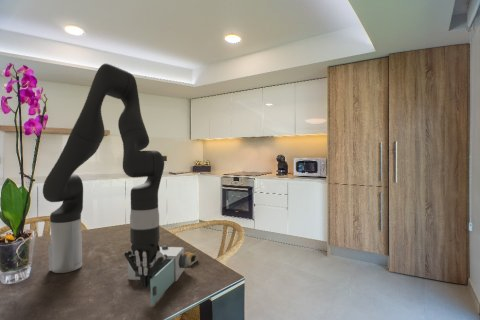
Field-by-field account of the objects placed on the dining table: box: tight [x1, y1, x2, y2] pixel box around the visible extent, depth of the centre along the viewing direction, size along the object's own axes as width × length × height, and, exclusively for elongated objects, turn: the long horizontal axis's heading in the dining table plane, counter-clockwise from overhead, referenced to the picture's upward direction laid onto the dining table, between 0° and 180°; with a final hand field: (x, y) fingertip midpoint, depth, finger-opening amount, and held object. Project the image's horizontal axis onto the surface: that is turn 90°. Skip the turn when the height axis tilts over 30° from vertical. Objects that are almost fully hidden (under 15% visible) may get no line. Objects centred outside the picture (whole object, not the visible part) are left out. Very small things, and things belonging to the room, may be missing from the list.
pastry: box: [184, 251, 199, 267], centre depth 106 cm, size 9×7×4 cm
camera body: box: [127, 244, 188, 282], centre depth 95 cm, size 18×8×9 cm, turn 84°
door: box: [149, 258, 177, 306], centre depth 82 cm, size 15×1×7 cm, turn 170°
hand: (146, 286), depth 78 cm, fingers closed
